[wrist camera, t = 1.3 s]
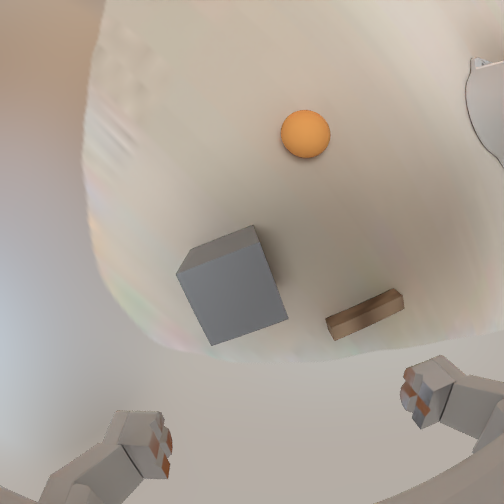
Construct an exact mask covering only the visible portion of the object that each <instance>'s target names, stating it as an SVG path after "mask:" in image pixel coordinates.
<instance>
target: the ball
mask: <svg viewBox="0 0 504 504" xmlns="http://www.w3.org/2000/svg"><path fill="white" fill-rule="evenodd" d="M281 138H282V141H283V144H284V145H285V147H286V148H287V149H288V150H289V151H290V152H291V153H292V154H294V155H296V156H298V157H303V158H310V157H314V156H317V155H319V154H320V153H322V152H323V151H324V150H325V149H326V147H327V146H328V144H329V141H330V129H329V126H328V124H327V122H326V121H325V119H324V118H323V117H322V116H320V115H319V114H317V113H315V112H313V111H309V110H300V111H296V112H294V113H292V114H291V115H289V116H288V117H287V118H286V119H285V121H284V123H283V125H282V128H281Z"/></svg>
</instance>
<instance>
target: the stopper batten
mask: <svg viewBox="0 0 504 504" xmlns="http://www.w3.org/2000/svg"><path fill="white" fill-rule="evenodd" d="M403 309H404V302H403V295H401V294H400V293H399V292H397V291H396V290H395V289H394V288H393V289H391V290H389V291H387V292H385V293H383V294H380V295H378V296H376V297H374V298H372V299H370V300H367V301H365V302H363V303H361V304H358V305H356V306H354V307H352V308H349V309H347V310H345V311H342V312H340V313H338V314H335V315H333V316H331V317H328V318H326V319H325V320H326V323H327V326H328V330H329V332H330V334H331V335H332V337H333V339H334V340H335V341H336V340H338V339H340V338H343V337H345V336H347V335H350V334H352V333H354V332H356V331H359V330H361V329H363V328H365V327H367V326H370V325H372V324H374V323H376V322H378V321H380V320H382V319H384V318H386V317H388V316H391V315H393V314H395V313H397V312H399V311H401V310H403Z"/></svg>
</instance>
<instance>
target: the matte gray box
mask: <svg viewBox="0 0 504 504" xmlns="http://www.w3.org/2000/svg"><path fill="white" fill-rule="evenodd" d="M176 276H177V278H178V280H179V282H180V284H181V287H182V289H183V291H184V293H185V295H186V297H187V299H188V301H189V303H190V305H191V307H192V309H193V311H194V313H195V315H196V317H197V319H198V321H199V323H200V325H201V327H202V329H203V331H204V333H205V335H206V337H207V338H208V340H209V342H210V344H211V346H213V345H216V344H219V343H222V342H225V341H228V340H231V339H234V338H237V337H240V336H243V335H245V334H248V333H251V332H254V331H257V330H260V329H262V328H265V327H268V326H271V325H273V324H276V323H279V322H281V321H284V320H287V319H289V318H288V316H287V313H286V310H285V308H284V305H283V302H282V300H281V297H280V294H279V292H278V289H277V286H276V284H275V281H274V279H273V276H272V273H271V271H270V268H269V265H268V263H267V260H266V258H265V255H264V252H263V250H262V247H261V244H260V242H259V239H258V237H257V234H256V232H255V229H254V227H253V225H252V226H249V227H246V228H244V229H241V230H239V231H236V232H234V233H231V234H228V235H226V236H223V237H221V238H218V239H216V240H213V241H211V242H208V243H206V244H203V245H201V246H198V247H196V248H193V249H191V250H190V251H189V253H188V255H187V256H186V258H185V260H184V261H183V263H182V265H181V266H180V268H179V270H178V271H177V273H176Z"/></svg>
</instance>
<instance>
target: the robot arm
mask: <svg viewBox="0 0 504 504" xmlns="http://www.w3.org/2000/svg"><path fill="white" fill-rule="evenodd" d="M466 100H467V106H468V111H469V115H470V118H471V121H472V124H473V126H474V129H475V131H476V133H477V135H478V137H479V139H480V140H481V142H482V143H483V145H484V146H485V147H486V148H487V149H488V150H489V151H490V152H491V153H492V154H494V155H495V156H496V157H497V158H498V159H499V161H500V163H501V164H502V166H503V167H504V61H500V62H496V63H492V62H490V61H487V60H484V59H481V58H478V57H475V58H472V59H471V74H470V76H469V78H468V81H467V86H466ZM403 378H404V379H405V383H404V384H403V385H402V387H401V391H400V399H401V402H402V405H403V407H404V408H405V410H406V411H409V412H412V413H413V414H412V419H413V420H414V421H415V423H416V424H417V425H418V427H419V428H420V429H423V428H426V427H428V426H430V425H432V424H435V423H437V422H439V421H440V423H443V424H445V425H447V426H449V427H451V428H453V429H456V430H458V431H460V432H462V433H465V434H467V435H469V436H471V437H474V438H476V439H478V441H477V443H476V445H475V446H474V448H473V455H471V456H469V457H468V458H466V459H465V460H463V461H462V462H460V463H458V464H457V465H455V466H453V467H451V468H450V469H448V470H446V471H445V472H443V473H441V474H439V475H437V476H435V477H433V478H431V479H430V480H428V481H426V482H424V483H422V484H419V485H418V486H415V487H413V488H411V489H409V490H407V491H404V492H402V493H400V494H397V495H395V496H393V497H390V498H388V499H385V500H383V501H380V502H377V503H374V504H504V382H500V381H495V380H491V379H486V378H481V377H477V376H473V375H469V376H466V375H465V374H464V373H463V372H462V371H460V370H459V369H458V368H457V367H456V366H455V365H454V364H453V363H451V362H450V361H449V360H448V359H447V358H446V357H444V356H442V355H439V356H436V357H434V358H432V359H429V360H427V361H424V362H422V363H419V364H416V365H414V366H411V367H408V368H406V370H405V372H404V376H403ZM172 448H173V447H172V437H171V434H170V431H169V429H168V428H167V427H165V426H164V417H163V415H162V413H161V412H158V411H156V412H155V411H123V410H117V411H116V412H115V413H114V415H113V418H112V420H111V422H110V425H109V427H108V430H107V432H106V435H105V437H104V440H103V442H102V443H97V444H96V445H95V446H93V447H92V448H91V449H89V450H87V451H86V452H85V453H83V454H82V455H80V456H79V457H77V458H76V459H74V460H73V461H71V462H70V463H68V464H67V465H65V466H64V467H62V468H61V469H59V470H58V471H56V472H55V473H53V474H51V475H50V477H49V479H48V481H47V484H46V486H45V488H44V490H43V493H42V495H41V497H40V499H39V502H36V501H33V500H31V499H28V498H26V497H24V496H22V495H19V494H17V493H15V492H13V491H11V490H8V489H6V488H4V487H2V486H0V504H122V503H123V501H124V500H125V499H126V498H127V497H128V496H129V495H130V494H131V493H132V492H133V491H134V490H135V489H136V487H137V486H138V485H139V484H140V483H141V482H142V481H143V478H145V479H146V478H147V479H168V476H169V469H170V463H169V461H168V459H167V458H168V457H169V456H170V455H171V454H172Z"/></svg>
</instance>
